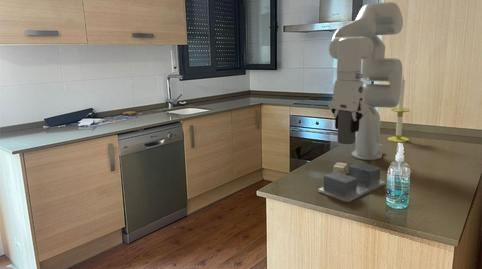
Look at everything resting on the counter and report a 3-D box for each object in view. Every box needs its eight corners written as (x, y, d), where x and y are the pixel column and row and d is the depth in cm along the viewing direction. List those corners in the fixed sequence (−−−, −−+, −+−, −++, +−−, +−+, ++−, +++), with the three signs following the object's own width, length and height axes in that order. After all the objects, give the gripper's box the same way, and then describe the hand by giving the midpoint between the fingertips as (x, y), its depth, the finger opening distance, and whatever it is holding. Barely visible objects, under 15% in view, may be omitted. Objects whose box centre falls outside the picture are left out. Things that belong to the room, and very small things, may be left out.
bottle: (357, 140, 128) (358, 97, 124) (352, 145, 123) (354, 100, 119) (340, 138, 131) (341, 96, 127) (335, 143, 126) (336, 99, 122)
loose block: (336, 171, 146) (337, 162, 145) (347, 173, 144) (347, 163, 143) (332, 176, 142) (333, 166, 141) (343, 177, 140) (343, 167, 139)
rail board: (355, 175, 141) (356, 160, 140) (384, 184, 132) (385, 168, 131) (318, 191, 128) (318, 175, 126) (347, 202, 119) (348, 185, 117)
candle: (405, 137, 192) (410, 73, 183) (411, 142, 182) (417, 75, 174) (385, 137, 193) (389, 74, 185) (390, 142, 183) (394, 76, 175)
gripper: (378, 77, 117) (375, 132, 122) (334, 74, 130) (333, 124, 135) (364, 79, 113) (361, 136, 117) (320, 76, 126) (319, 127, 131)
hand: (346, 129), depth 126 cm, fingers closed on bottle, 5 cm apart
